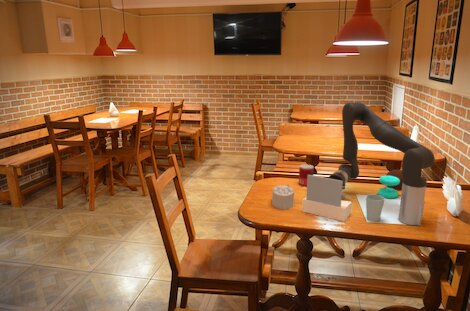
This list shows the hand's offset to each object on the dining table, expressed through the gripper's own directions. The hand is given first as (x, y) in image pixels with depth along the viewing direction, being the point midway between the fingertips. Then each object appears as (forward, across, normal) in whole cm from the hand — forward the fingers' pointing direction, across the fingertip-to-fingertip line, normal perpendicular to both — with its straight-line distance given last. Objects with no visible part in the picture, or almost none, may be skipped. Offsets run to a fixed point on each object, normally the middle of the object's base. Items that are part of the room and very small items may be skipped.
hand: (325, 189), depth 167 cm
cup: (-8, +20, +13) cm, 25 cm away
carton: (-3, 0, +12) cm, 13 cm away
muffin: (-59, +20, +13) cm, 64 cm away
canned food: (-35, -24, +13) cm, 44 cm away
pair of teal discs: (-43, +19, +13) cm, 49 cm away
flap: (+2, 0, +6) cm, 7 cm away
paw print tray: (-1, -22, +13) cm, 25 cm away
